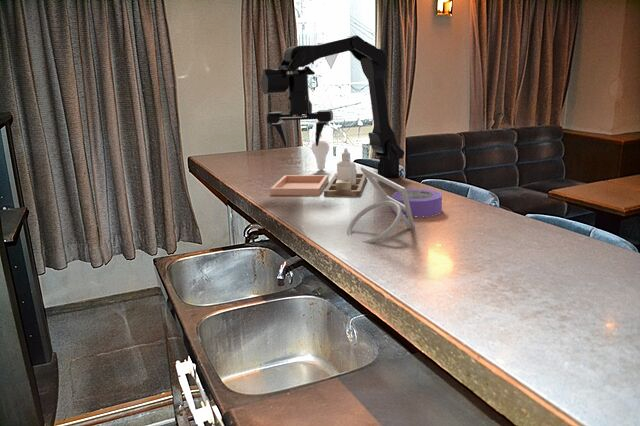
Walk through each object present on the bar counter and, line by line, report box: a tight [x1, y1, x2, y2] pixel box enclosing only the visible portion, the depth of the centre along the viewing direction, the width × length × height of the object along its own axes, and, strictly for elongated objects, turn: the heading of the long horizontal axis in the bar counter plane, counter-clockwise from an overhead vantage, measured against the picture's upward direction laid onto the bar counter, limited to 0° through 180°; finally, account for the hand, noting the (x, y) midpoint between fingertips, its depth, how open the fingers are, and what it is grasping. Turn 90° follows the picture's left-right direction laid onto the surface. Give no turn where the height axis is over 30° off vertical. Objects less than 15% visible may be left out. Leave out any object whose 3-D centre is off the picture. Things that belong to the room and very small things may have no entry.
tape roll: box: [391, 188, 443, 218], centre depth 127 cm, size 12×12×5 cm
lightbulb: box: [311, 138, 330, 171], centre depth 182 cm, size 6×6×11 cm
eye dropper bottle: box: [336, 148, 357, 185], centre depth 154 cm, size 4×6×12 cm
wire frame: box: [346, 166, 416, 244], centre depth 109 cm, size 18×13×16 cm
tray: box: [269, 174, 330, 196], centre depth 156 cm, size 14×18×2 cm
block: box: [335, 180, 351, 190], centre depth 148 cm, size 4×4×4 cm
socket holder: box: [323, 172, 368, 197], centre depth 156 cm, size 10×24×2 cm, turn 171°
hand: (301, 146), depth 154 cm, fingers open, 9 cm apart
